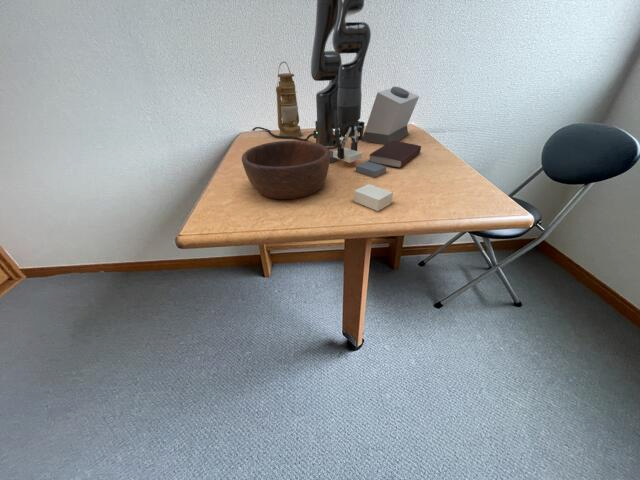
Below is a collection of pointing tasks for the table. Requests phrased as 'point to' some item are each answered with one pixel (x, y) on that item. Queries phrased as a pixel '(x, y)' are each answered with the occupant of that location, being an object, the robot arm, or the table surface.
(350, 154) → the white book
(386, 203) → the white rectangular block
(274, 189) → the wooden bowl
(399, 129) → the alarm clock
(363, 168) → the blue-grey flat blocks
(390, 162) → the book
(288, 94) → the lantern
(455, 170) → the table surface
